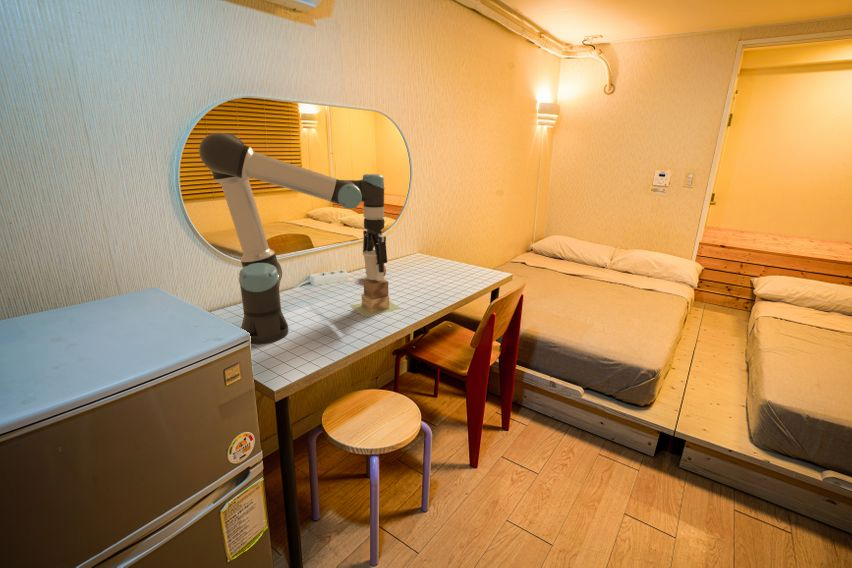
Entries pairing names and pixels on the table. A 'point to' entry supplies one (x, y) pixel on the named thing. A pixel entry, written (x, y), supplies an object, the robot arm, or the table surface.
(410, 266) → the table surface
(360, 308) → the build plate
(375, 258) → the dixie cup
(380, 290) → the walnut block
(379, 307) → the oak block
